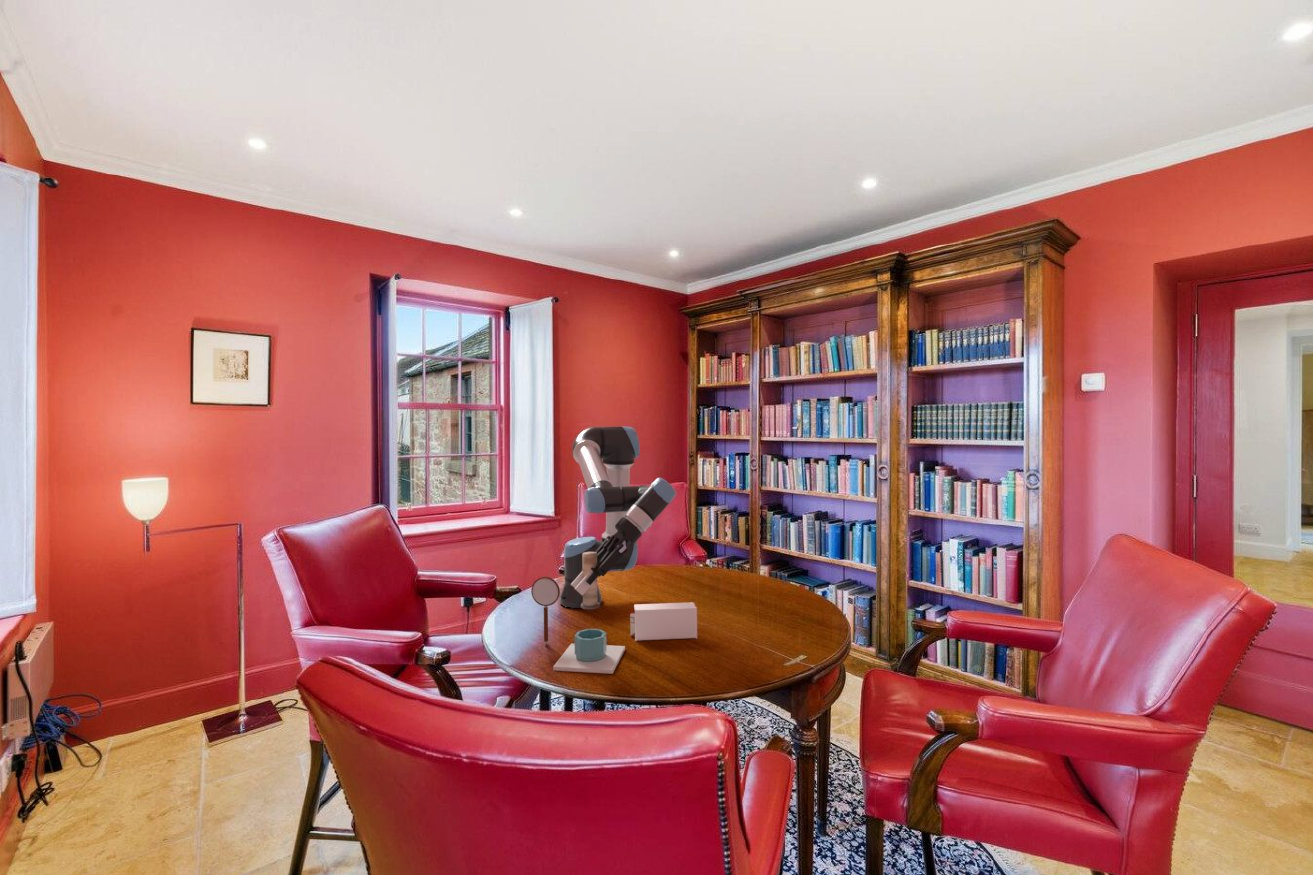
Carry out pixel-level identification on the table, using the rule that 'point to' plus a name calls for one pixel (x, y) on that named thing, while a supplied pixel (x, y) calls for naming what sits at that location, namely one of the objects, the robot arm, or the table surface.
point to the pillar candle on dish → (591, 594)
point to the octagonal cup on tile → (590, 654)
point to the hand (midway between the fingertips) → (576, 589)
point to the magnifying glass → (545, 597)
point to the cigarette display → (664, 621)
